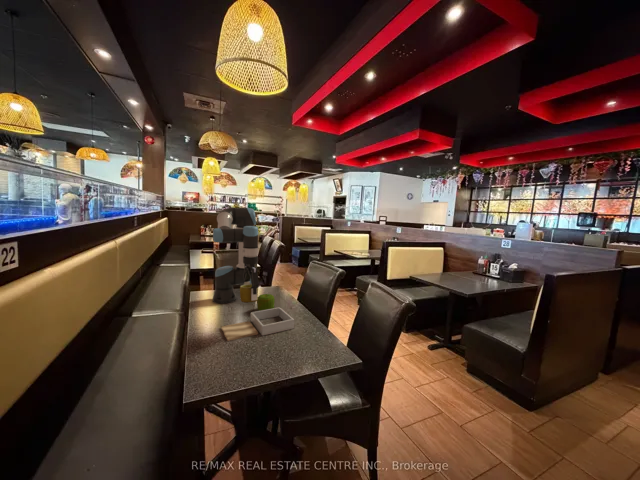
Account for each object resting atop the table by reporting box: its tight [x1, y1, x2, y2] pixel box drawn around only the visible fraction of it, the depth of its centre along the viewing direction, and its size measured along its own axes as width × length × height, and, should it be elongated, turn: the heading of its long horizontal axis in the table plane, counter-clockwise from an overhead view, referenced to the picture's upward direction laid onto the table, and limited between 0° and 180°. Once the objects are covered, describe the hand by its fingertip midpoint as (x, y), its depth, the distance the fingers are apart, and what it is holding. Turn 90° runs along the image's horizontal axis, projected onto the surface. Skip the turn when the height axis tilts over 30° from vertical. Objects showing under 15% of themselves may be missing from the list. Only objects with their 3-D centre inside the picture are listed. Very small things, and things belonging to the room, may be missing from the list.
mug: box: [239, 284, 259, 304], centre depth 135 cm, size 12×10×10 cm
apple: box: [256, 293, 276, 311], centre depth 163 cm, size 11×11×11 cm
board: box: [220, 320, 259, 342], centre depth 134 cm, size 15×15×1 cm
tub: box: [250, 306, 295, 336], centre depth 143 cm, size 20×18×5 cm
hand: (250, 296), depth 135 cm, fingers closed on mug, 11 cm apart
